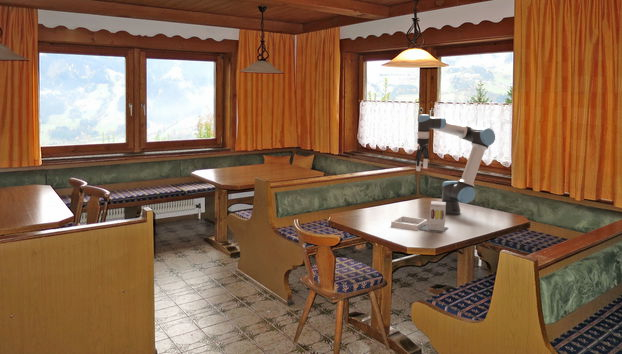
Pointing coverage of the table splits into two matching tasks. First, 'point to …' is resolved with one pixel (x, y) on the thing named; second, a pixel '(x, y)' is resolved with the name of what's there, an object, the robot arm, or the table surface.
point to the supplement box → (437, 216)
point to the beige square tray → (409, 219)
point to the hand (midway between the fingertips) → (421, 169)
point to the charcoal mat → (426, 228)
